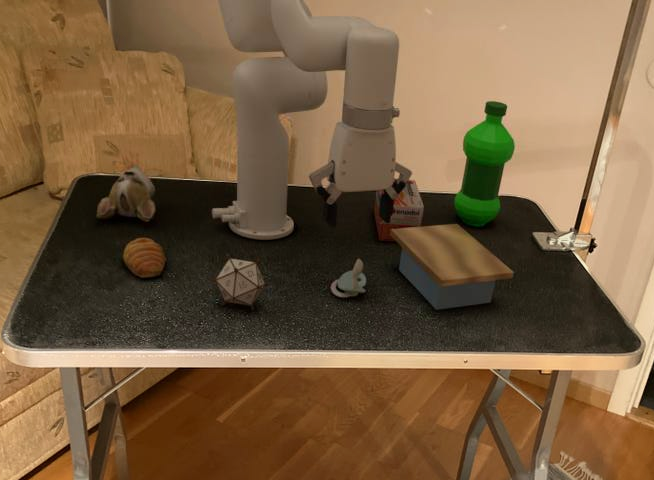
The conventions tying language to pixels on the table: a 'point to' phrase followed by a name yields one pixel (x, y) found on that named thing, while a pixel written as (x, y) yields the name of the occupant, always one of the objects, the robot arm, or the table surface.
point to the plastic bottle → (484, 167)
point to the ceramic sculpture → (130, 197)
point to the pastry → (144, 257)
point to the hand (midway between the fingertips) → (357, 222)
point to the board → (450, 254)
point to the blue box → (444, 287)
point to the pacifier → (350, 282)
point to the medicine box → (400, 211)
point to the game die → (240, 281)
